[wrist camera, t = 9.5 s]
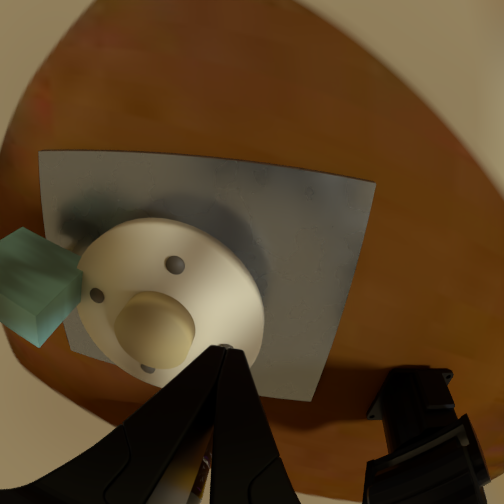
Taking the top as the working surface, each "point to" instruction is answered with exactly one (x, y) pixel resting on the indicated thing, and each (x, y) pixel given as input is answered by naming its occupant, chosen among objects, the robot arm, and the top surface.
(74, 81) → the top surface
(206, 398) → the robot arm
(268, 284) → the base
